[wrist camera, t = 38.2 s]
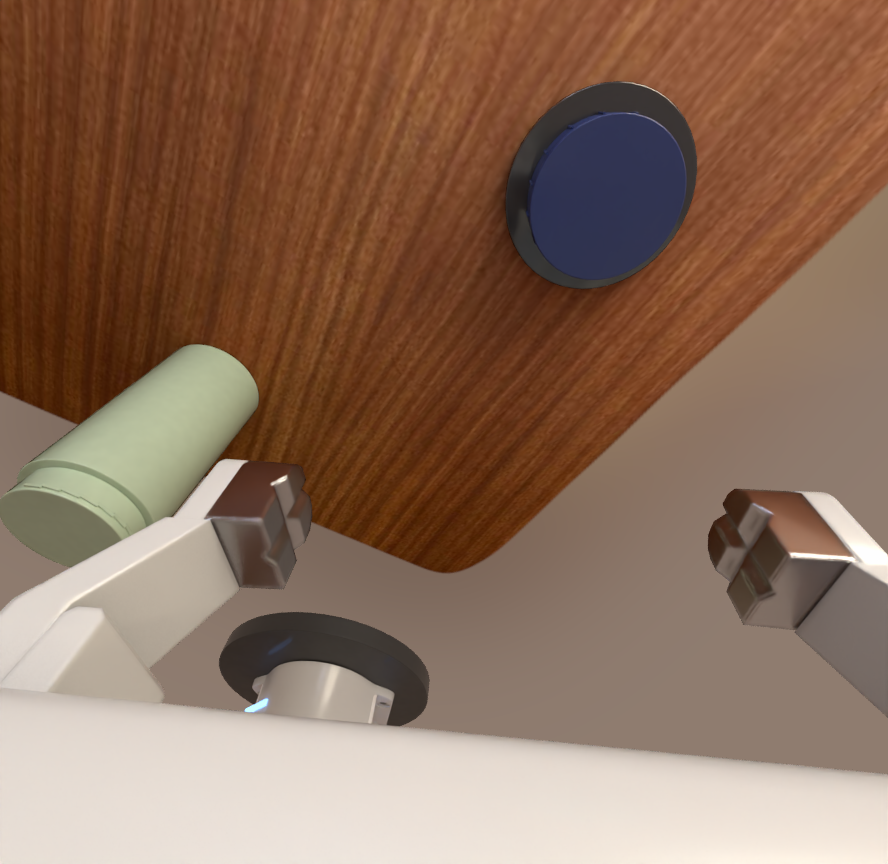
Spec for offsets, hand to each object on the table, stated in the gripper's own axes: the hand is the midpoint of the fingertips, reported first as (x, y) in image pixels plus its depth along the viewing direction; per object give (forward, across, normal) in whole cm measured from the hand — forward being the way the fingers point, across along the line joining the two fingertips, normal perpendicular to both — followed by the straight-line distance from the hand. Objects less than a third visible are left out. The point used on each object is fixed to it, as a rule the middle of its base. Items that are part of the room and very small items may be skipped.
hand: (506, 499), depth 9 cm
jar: (+19, +19, +9) cm, 29 cm away
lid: (+17, -5, -3) cm, 18 cm away
